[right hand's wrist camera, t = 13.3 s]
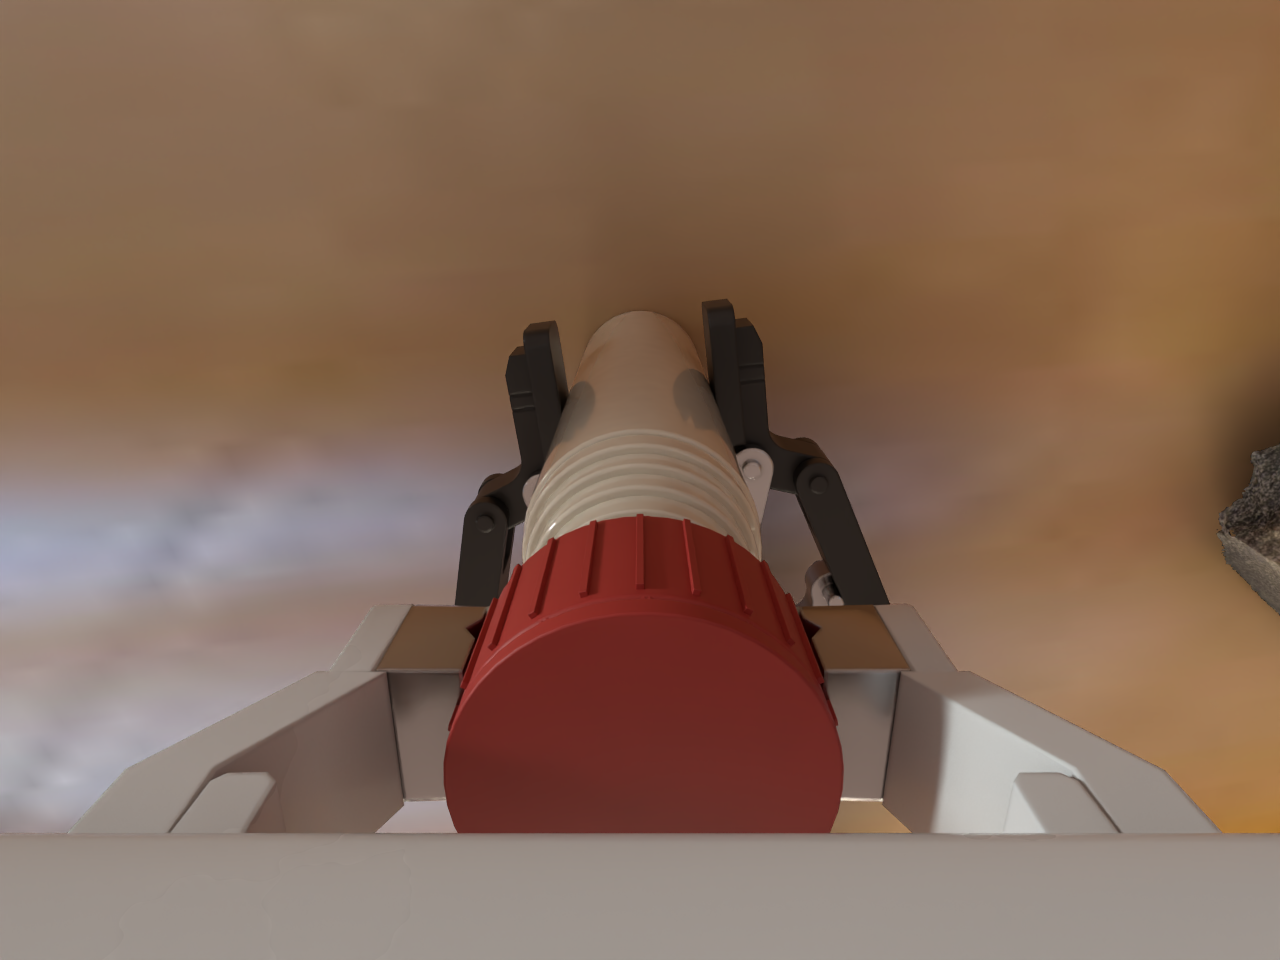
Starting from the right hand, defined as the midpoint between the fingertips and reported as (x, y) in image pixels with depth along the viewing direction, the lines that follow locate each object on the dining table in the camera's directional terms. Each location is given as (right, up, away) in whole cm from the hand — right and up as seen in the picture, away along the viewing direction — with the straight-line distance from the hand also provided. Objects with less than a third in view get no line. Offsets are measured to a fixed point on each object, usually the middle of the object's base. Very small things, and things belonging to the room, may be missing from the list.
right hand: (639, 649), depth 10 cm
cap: (0, -1, -2) cm, 2 cm away
